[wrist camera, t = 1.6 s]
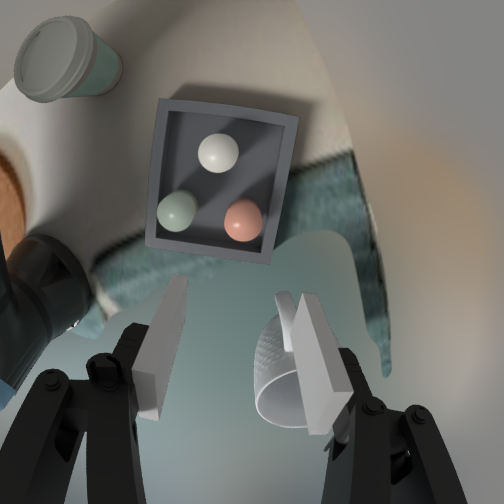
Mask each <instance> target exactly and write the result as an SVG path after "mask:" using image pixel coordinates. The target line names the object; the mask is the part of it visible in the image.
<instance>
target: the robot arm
mask: <svg viewBox="0 0 504 504" xmlns="http://www.w3.org/2000/svg"><path fill="white" fill-rule="evenodd" d="M187 285H188V276H182V275H175V274H173V275H172V278H171V280H170V282H169V284H168V286H167V288H166V291H165V293H164V295H163V297H162V299H161V302H160V304H159V306H158V308H157V310H156V313H155V315H154V317H153V320H152V322H151V324H150V326H148V325H143V324H138V323H132V324H131V325H130V326H128V327H127V328H125V329H124V331H123V333H122V335H121V338H120V339H119V341H118V343H117V345H116V347H115V349H114V351H113V353H112V354H111V353H99V354H97V355H94V356H93V357H91V358H90V359H89V360H88V362H87V364H86V368H87V372H88V376H89V380H69V378H68V376H67V375H66V374H65V373H64V372H63V371H60V370H59V369H48V370H45V371H43V372H41V373H40V374H39V375H38V377H37V378H36V380H35V382H34V383H33V385H32V387H31V389H30V391H29V393H28V394H27V396H26V398H25V400H24V402H23V404H22V405H21V408H20V409H19V411H18V413H17V415H16V417H15V419H14V421H13V424H12V425H11V428H10V430H9V432H8V434H7V436H6V438H5V441H4V443H3V445H2V448H1V450H0V504H64V501H65V497H66V493H67V489H68V485H69V482H70V478H71V475H72V471H73V468H74V464H75V461H76V458H77V454H78V451H79V448H80V445H81V442H82V438H83V436H84V433H85V432H87V444H86V446H87V447H86V470H87V471H86V473H87V497H88V504H146V498H145V493H144V486H143V479H142V472H141V465H140V456H139V447H138V437H137V425H136V421H135V419H136V416H137V412H138V411H139V416H140V417H142V418H147V419H152V420H156V421H159V419H160V415H161V411H162V406H163V403H164V398H165V395H166V391H167V387H168V382H169V379H170V375H171V371H172V367H173V364H174V360H175V356H176V352H177V348H178V345H179V341H180V337H181V334H182V330H183V327H184V324H185V315H186V299H187ZM89 304H90V290H89V285H88V281H87V278H86V275H85V273H84V271H83V269H82V267H81V265H80V264H79V262H78V260H77V259H76V258H75V256H74V255H73V254H72V253H71V252H70V250H69V249H68V248H67V247H65V246H64V245H63V244H62V243H60V242H59V241H58V240H56V239H54V238H52V237H50V236H47V235H41V234H36V235H32V236H29V237H27V238H26V239H24V240H23V241H21V242H20V243H18V244H17V245H16V246H15V247H14V249H13V250H12V252H11V254H10V256H9V257H8V259H7V260H5V255H4V250H3V245H2V239H1V232H0V411H1V410H2V409H4V408H5V407H6V405H7V403H8V402H9V401H10V400H11V398H12V397H13V396H15V395H16V394H17V391H18V389H19V388H20V386H21V385H22V383H23V381H24V380H25V378H26V377H27V375H28V374H29V372H30V370H31V369H32V367H33V366H34V364H35V363H36V361H37V360H38V358H39V357H40V355H41V354H42V352H43V351H44V350H45V348H46V347H47V345H48V344H49V343H50V341H51V340H53V339H55V338H56V337H58V336H60V335H62V334H63V333H64V332H65V331H69V330H71V329H73V328H74V327H75V326H77V325H78V324H79V323H80V321H81V320H82V318H83V317H84V316H85V314H86V313H87V311H88V308H89ZM290 338H291V343H292V348H293V353H294V358H295V363H296V368H297V373H298V378H299V384H300V389H301V394H302V399H303V405H304V410H305V415H306V421H307V426H308V432H309V435H319V434H327V433H328V432H329V431H330V429H331V428H332V427H333V431H334V436H333V437H332V439H331V440H330V442H329V443H328V444H327V445H326V447H325V449H324V451H327V450H328V449H329V447H330V449H329V457H328V464H327V471H326V477H325V484H324V490H323V496H322V501H321V504H467V501H466V498H465V495H464V492H463V489H462V486H461V484H460V481H459V478H458V476H457V473H456V470H455V468H454V465H453V463H452V460H451V458H450V455H449V453H448V451H447V448H446V446H445V444H444V441H443V439H442V436H441V434H440V432H439V430H438V428H437V425H436V423H435V421H434V419H433V416H432V414H431V413H430V412H429V410H427V409H426V408H425V407H423V406H421V405H411V406H409V407H408V408H407V409H406V410H405V412H401V411H395V410H390V409H387V407H386V405H385V404H384V403H383V401H381V400H380V399H378V398H377V397H373V396H372V393H371V391H370V388H369V386H368V383H367V381H366V379H365V376H364V374H363V373H362V369H361V367H360V366H359V362H358V360H357V358H356V355H355V354H354V353H353V352H352V351H351V350H350V349H349V348H337V345H336V342H335V340H334V337H333V335H332V332H331V330H330V327H329V324H328V322H327V319H326V317H325V314H324V312H323V309H322V307H321V304H320V302H319V299H318V297H317V295H316V294H312V293H304V292H302V295H301V298H300V302H299V306H298V309H297V312H296V316H295V319H294V322H293V326H292V329H291V332H290ZM408 450H409V453H410V455H409V453H408Z"/></svg>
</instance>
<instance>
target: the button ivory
mask: <svg viewBox="0 0 504 504" xmlns="http://www.w3.org/2000/svg"><path fill="white" fill-rule="evenodd" d="M238 155H239V147H238V144H237V142H236V141H235V140H234V139H233V138H232V137H231V136H229V135H226V134H212V135H210V136H208V137H206V138H205V139H204V140H203V141H202V143H201V144H200V146H199V150H198V157H199V161H200V163H201V164H202V166H203V167H204V168H205V169H207V170H209V171H211V172H215V173H221V172H225V171H227V170H229V169H230V168H232V167H233V166H234V164H235V163H236V161H237V158H238Z"/></svg>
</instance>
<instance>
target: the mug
mask: <svg viewBox="0 0 504 504" xmlns="http://www.w3.org/2000/svg"><path fill="white" fill-rule="evenodd" d="M275 301H276V304H277V307H278V312H279V314H278V315H276V316H275V317H274V318H273V319H271V320H270V321H269V323H268V324H267V325H266V327H265V328H264V329H263V332H262V333H261V335H260V338H259V341H258V344H257V348H256V351H255V358H254V386H255V387H254V391H255V403H256V408H257V411H258V413H259V414H260V415H261V416H262V417H263V418H264V419H265V420H267V421H268V422H270V423H272V424H274V425H278V426H281V427H288V428H302V427H308V426H307V421H306V415H305V410H304V405H303V399H302V394H301V389H300V384H299V378H298V373H297V368H296V363H295V358H294V353H293V348H292V343H291V338H290V332H291V329H292V326H293V322H294V319H295V316H296V312H297V310H296V307H295V304H294V301H293V298H292V296H291V294H290V293H289V292H288V291H282V292H279V293H277V294H275ZM331 332H332V331H331ZM332 335H333V337H334V340H335V342H336V345H337V348H342V347H341V345H340V344H339V341H338V339H337V338H336V337H335V335H334V333H333V332H332Z"/></svg>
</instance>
